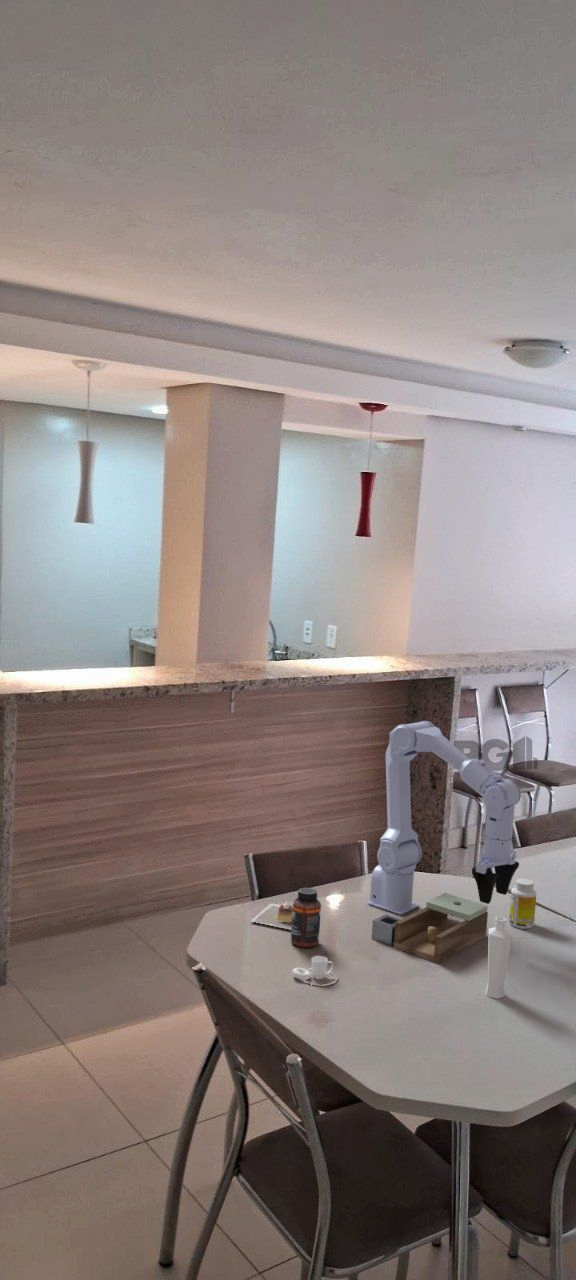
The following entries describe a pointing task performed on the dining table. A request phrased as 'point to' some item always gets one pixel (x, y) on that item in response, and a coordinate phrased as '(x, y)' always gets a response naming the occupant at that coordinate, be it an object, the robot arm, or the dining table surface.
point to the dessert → (279, 914)
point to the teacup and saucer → (313, 969)
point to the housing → (437, 934)
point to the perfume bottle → (497, 958)
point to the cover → (457, 906)
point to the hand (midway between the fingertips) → (493, 897)
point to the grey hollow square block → (384, 929)
